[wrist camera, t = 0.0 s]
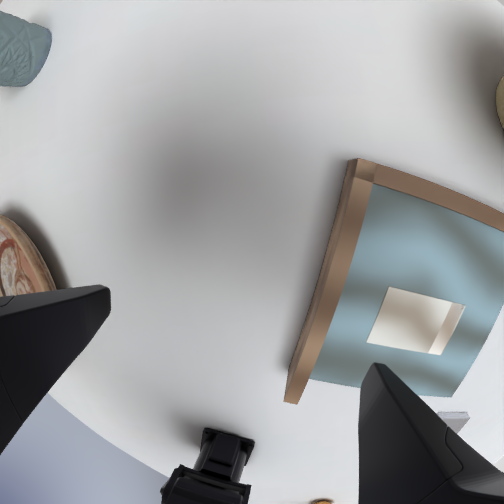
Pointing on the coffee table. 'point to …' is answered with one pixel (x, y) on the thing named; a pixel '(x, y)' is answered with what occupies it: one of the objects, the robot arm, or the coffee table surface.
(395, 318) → the corner arena
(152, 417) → the coffee table surface
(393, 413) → the robot arm
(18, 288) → the ceramic bowl
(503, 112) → the plant pot
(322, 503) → the figurine
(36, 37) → the embossed green cup
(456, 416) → the aluminium bracket
